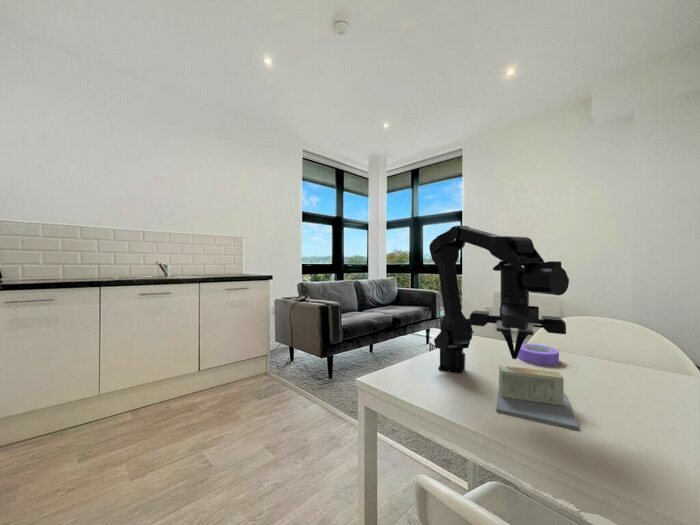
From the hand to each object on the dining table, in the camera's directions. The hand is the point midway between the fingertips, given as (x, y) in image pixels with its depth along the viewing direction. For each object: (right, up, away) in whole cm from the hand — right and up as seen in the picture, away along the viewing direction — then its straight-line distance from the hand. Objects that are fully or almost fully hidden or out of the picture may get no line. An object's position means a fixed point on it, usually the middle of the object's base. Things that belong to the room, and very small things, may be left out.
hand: (514, 358), depth 67 cm
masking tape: (+24, -10, +29) cm, 39 cm away
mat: (+3, -10, -2) cm, 10 cm away
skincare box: (-3, -6, +2) cm, 7 cm away
